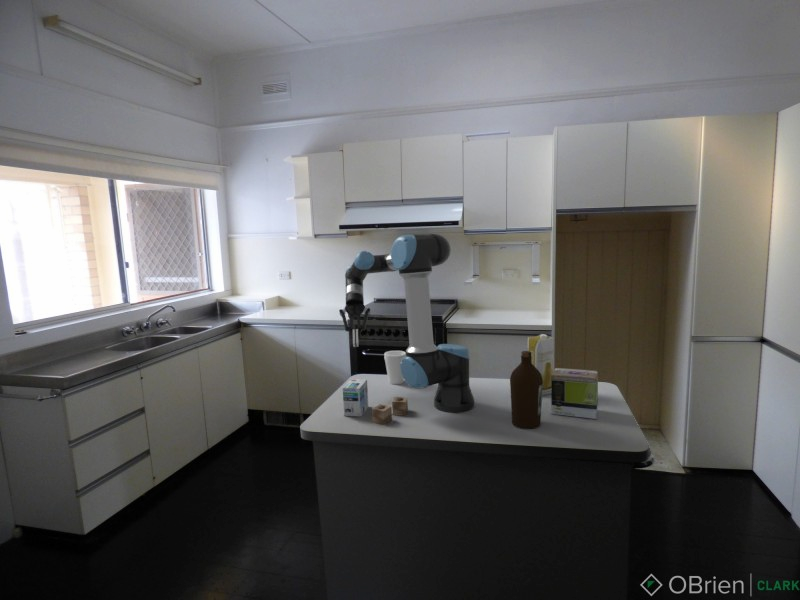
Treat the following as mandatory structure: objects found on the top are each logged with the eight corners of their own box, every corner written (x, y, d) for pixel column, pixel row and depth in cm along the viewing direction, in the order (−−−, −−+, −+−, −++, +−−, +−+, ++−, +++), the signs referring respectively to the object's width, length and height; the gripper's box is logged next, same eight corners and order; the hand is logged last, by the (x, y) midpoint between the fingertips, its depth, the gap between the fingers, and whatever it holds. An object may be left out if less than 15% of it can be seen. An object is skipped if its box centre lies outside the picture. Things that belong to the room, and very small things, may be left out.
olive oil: (510, 429, 159) (509, 355, 156) (510, 416, 170) (510, 347, 166) (543, 431, 157) (544, 356, 153) (541, 418, 167) (542, 348, 164)
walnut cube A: (407, 409, 180) (407, 396, 179) (406, 415, 175) (405, 401, 174) (394, 409, 180) (393, 396, 179) (392, 414, 175) (392, 401, 175)
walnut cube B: (391, 419, 171) (391, 405, 170) (384, 424, 167) (383, 410, 166) (380, 417, 174) (379, 403, 173) (372, 422, 169) (371, 408, 169)
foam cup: (387, 378, 217) (386, 350, 215) (407, 378, 216) (406, 350, 214) (383, 385, 208) (382, 356, 206) (405, 385, 207) (404, 356, 205)
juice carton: (539, 398, 187) (539, 337, 183) (524, 392, 193) (524, 334, 190) (556, 393, 191) (556, 334, 188) (541, 387, 198) (541, 330, 194)
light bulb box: (361, 417, 174) (359, 388, 173) (343, 416, 176) (341, 387, 174) (368, 406, 185) (367, 379, 183) (352, 405, 186) (350, 378, 184)
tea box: (597, 409, 173) (598, 370, 171) (596, 420, 164) (597, 378, 162) (554, 404, 179) (554, 366, 177) (550, 414, 170) (550, 374, 168)
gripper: (370, 301, 207) (373, 348, 193) (339, 303, 207) (339, 350, 193) (370, 291, 201) (372, 339, 187) (337, 292, 201) (337, 340, 187)
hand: (355, 344), depth 190 cm, fingers closed
